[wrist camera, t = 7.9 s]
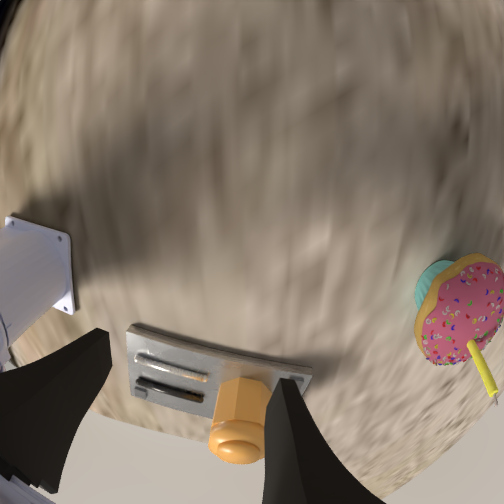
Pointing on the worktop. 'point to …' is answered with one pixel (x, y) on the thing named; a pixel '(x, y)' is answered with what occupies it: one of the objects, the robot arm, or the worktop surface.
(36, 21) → the worktop surface
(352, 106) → the worktop surface
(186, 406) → the plate
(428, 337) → the cupcake
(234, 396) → the acorn cap nut
